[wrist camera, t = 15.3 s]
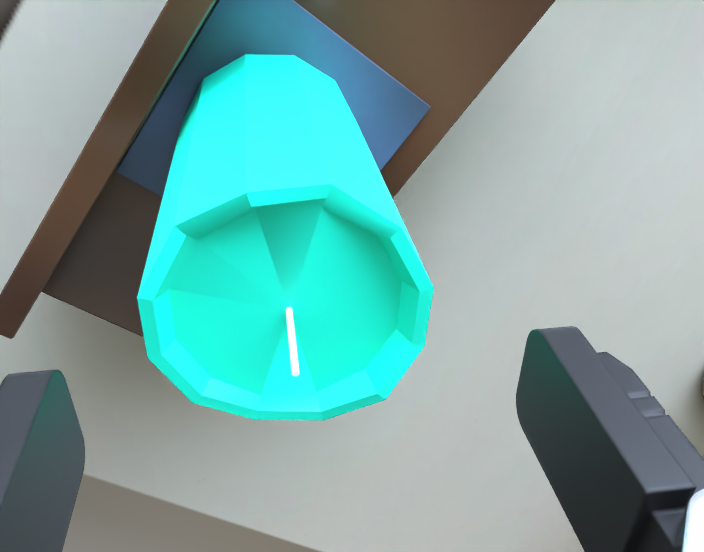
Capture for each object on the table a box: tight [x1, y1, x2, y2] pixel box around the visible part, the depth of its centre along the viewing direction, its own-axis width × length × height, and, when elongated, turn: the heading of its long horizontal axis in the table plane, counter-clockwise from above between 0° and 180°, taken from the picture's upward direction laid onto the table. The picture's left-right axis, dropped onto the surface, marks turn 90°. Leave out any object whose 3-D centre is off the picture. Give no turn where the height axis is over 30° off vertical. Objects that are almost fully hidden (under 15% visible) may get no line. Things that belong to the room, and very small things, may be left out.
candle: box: [137, 54, 434, 420], centre depth 16 cm, size 6×6×12 cm
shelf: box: [0, 0, 555, 339], centre depth 23 cm, size 20×10×10 cm, turn 143°
